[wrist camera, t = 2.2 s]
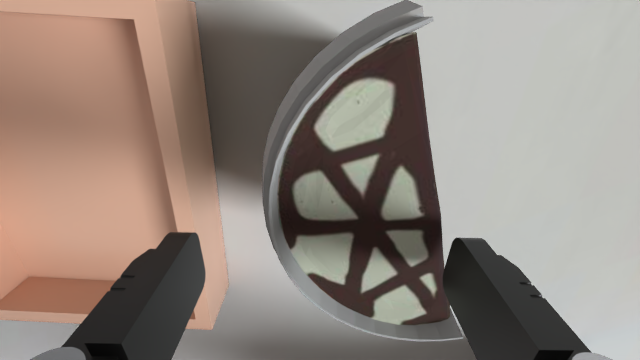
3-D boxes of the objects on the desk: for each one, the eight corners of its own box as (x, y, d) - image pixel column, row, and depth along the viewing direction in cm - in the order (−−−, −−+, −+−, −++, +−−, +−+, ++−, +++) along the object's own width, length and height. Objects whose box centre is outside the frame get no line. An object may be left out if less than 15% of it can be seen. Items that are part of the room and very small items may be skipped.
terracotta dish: (194, 2, 15) (153, -9, 11) (229, 285, 24) (212, 329, 20) (-123, -18, 15) (-267, -35, 11) (33, 275, 24) (-19, 318, 20)
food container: (257, 51, 16) (170, 72, 7) (367, 16, 15) (430, -12, 6) (318, 228, 21) (314, 370, 12) (402, 210, 20) (464, 347, 11)
